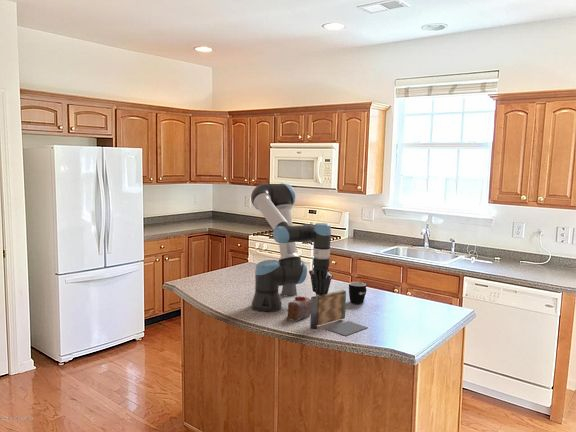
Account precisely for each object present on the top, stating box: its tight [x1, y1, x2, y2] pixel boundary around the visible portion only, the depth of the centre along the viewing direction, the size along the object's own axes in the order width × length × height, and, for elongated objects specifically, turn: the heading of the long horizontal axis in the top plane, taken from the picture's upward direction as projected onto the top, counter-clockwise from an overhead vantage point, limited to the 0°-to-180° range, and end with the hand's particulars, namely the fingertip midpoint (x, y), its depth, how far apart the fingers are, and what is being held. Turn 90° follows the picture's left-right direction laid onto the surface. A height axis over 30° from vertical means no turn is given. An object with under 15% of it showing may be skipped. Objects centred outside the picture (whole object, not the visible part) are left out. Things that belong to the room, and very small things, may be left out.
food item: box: [286, 296, 311, 322], centre depth 221 cm, size 14×8×10 cm, turn 150°
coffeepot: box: [281, 284, 298, 297], centre depth 259 cm, size 15×9×18 cm, turn 113°
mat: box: [325, 320, 369, 337], centre depth 206 cm, size 11×16×1 cm
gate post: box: [309, 295, 318, 330], centre depth 205 cm, size 3×3×14 cm
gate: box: [317, 289, 347, 327], centre depth 212 cm, size 17×2×13 cm, turn 131°
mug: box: [348, 281, 367, 305], centre depth 247 cm, size 12×9×10 cm
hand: (319, 308), depth 213 cm, fingers closed
